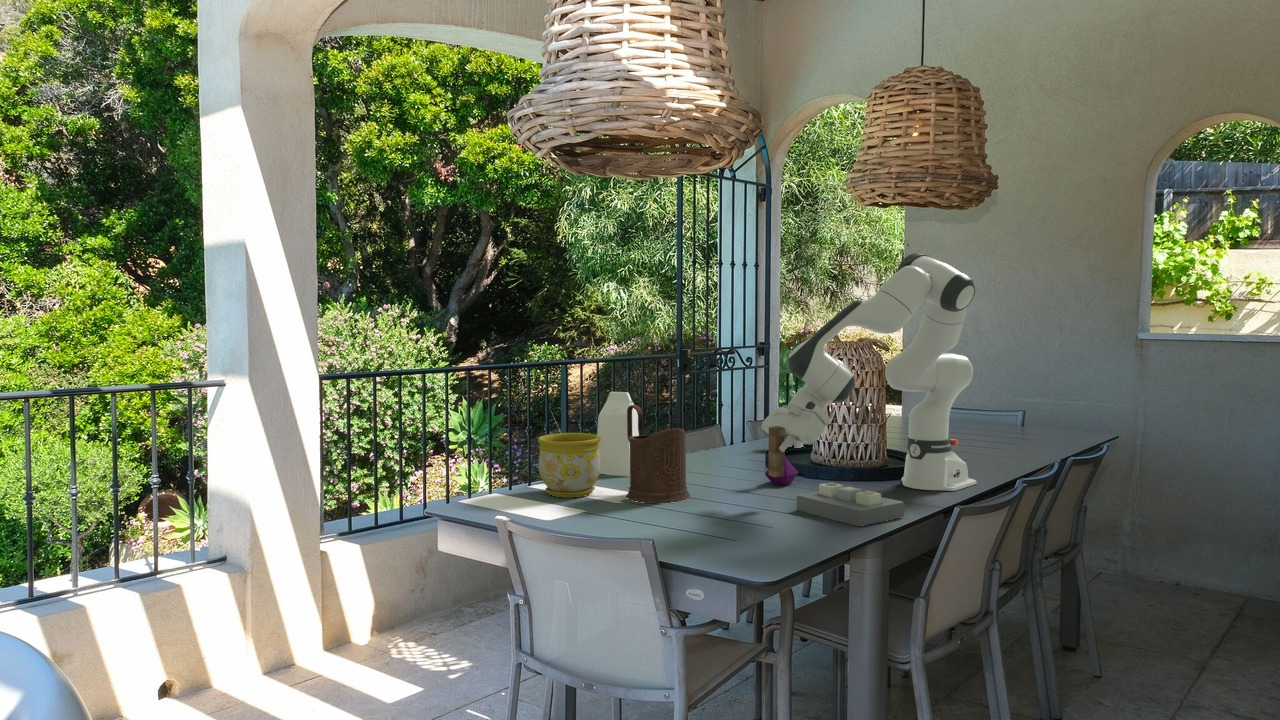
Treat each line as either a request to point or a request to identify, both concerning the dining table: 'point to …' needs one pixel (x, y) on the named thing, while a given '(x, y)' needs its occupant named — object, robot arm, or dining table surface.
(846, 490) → the key mid
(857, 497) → the key
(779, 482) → the perfume bottle
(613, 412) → the milk
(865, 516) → the keypad
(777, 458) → the brown wooden bar
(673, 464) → the cup holder
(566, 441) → the flowerpot
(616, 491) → the dining table surface
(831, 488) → the key
